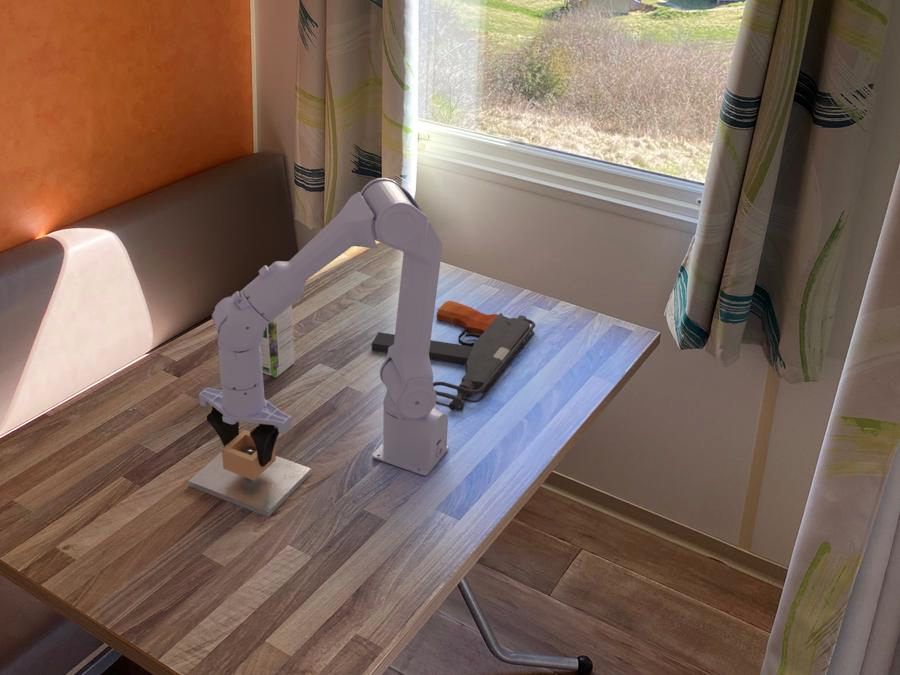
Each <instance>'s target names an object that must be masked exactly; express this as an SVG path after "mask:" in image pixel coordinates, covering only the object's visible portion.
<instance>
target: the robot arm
mask: <svg viewBox="0 0 900 675" xmlns="http://www.w3.org/2000/svg"><path fill="white" fill-rule="evenodd" d="M436 231H437V230H436V229H435V228H434V226H433V224H432V222H431V221H430V219H429V217H428V215H427V214H426V213H425V212H424V211H423V209H422V208H421V207H420V206H419V204H418V203H417V202H416V200H415V199H414V197H413V196H412V194H411V193H410V192H409V190H407V189H406V188H405V187H403V186H402V185H401V184H399V183H398V182H397V181H395V180H393V179H391V178H387V177H377V178H374V179H372V180H370V181H369V182H367V184H365V185H364V187H362V189H361V191H357V192H356V193H354V194H353V195H351V196H350V198H349V199H348V200H347V201H346V204H344V206H343V207H342V208H341V210H340V212H339V213H337V215H336V216H334V218H332V219H331V220H330V221H329V223H327V224H326V225H325V226H324V227H323V228H322V229H321V230H320V231H319V232H318V233H316V235H315V236H314V237H313V238H312V239H311V240H310V241H308V242H307V243H306V244H305V245H304V246H303V247H302V248H301V249H300V250H299V251H297V253H296V254H295V255H294V256H292V258H291V259H290V260H287V261H283V260H282V261H281V260H276V261H274V262H272V264H270V266H267V265H263V266H262V267H261V268H260V269H259V270H258V274H259V275H257V276H256V277H255V278H254V279H253V280H252V281H251V282H250V283H248V284H247V285H246V286H244V287H243V289H241V290H240V291H238V290H237V291H235V292H234V293H233V294H232V295H231V296H226V297H224V298H222V299H221V300H220V301H219V302H218V303H216V305H215V307H214V310H213V313H212V314H211V319H212V320H213V324H214V325H215V329H216V333H217V337H218V341H217V346H218V354H217V355H218V363H219V374H220V384H221V389H217V388H216V389H215V388H211V387H208V386H207V387H206V388H204V389H203V390H202V391H201V392H199V393H198V399H199V405H200V406H203V407H207V406H211V411H210V413H208V414H207V415H206V422H207V423H209V425H210V426H211V427H212V428H213V429H214V431H215V432H216V434H217V435H218V437H219V439H220V441H221V443H222V445H223V448H224V447H225V446H226V445H227V444H228V443H230V442H231V441H232V440H233V439H234V438H235V437H236V436H238V435H239V434H240V429H239V428H240V423H247V424H248V423H249V424H258V425H257V426H256V427H255V428H254V429H253V430H252V431H250V436H251V437H252V439H253V441H254V443H255V446H256V449H257V456H258V460H259V464H260V466H262V467H264V466H265V465H266V464H267V463H268V462H270V461H271V458H272V453H273V449H274V445H275V446H276V441H277V439H278V437H279V435H280V434H283V435H284V434H286V433H287V432H288V431H289V430H290V429H291V428H292V427H293V422H292V415H289V414H287V413H285V412H283V411H282V410H280V409H279V408H278V407H276V406H275V405H274V404H273V403H271V402H270V401H269V400H267V399H266V398H265V386H264V373H263V371H262V357H261V349H260V346H259V343H260V342H261V340H262V338H263V334H264V329H265V328H266V327H267V326H268V324H269V323H270V322H271V321H273V320H274V319H275V318H276V317H277V316H279V315H280V314H281V313H282V312H283V311H284V310H286V309H287V308H288V307H289V306H290V305H292V306H293V304H294V303H295V302H296V301H297V300H299V299H300V298H301V297H302V296H304V294H305V288H306V287H305V286H306V282H307V281H308V280H309V279H311V278H312V277H313V276H314V275H316V274H317V273H318V272H320V271H322V270H323V269H324V268H326V266H328V265H329V264H330V263H332V262H333V261H335V260H336V259H337V258H339V257H340V256H342V255H343V254H344V253H345V252H346V251H348V250H349V249H350V248H352V247H359V248H367V249H378V248H379V247H378V245H377V243H376V240H379V242H381V243H382V244H383V245H384V246H386V247H388V248H392V249H395V250H398V251H400V252H402V253H403V255H402V262H401V263H402V264H401V273H400V281H399V282H400V283H399V291H398V304H397V311H396V323H395V331H394V335H395V339H394V345H392V346H390V347H389V348H388V352H387V355H386V358H385V359H384V361H383V362H382V364H381V366H380V368H379V369H380V370H379V378H380V380H381V382H382V384H384V386H385V387H386V393H385V396H384V399H383V417H382V418H383V423H382V424H383V430H382V431H383V437H382V438H383V442H382V443H381V444H380V445H379V447H378V448H376V450H375V451H374V452H373V453H372V458H373V459H375V460H377V461H381V462H384V463H386V464H389V465H392V466H396V467H398V468H400V469H401V468H402V469H405V470H407V471H409V472H413V473H416V474H418V475H421V476H428V475H429V474H430V472H431V471H433V469H434V467H435V466H436V465H437V464H438V462H440V460H441V459H442V458H443V457H444V455H445V454H446V453H447V451H448V450H449V449H450V448H449V445H448V428H449V427H448V425H449V421H448V420H449V419H448V415H447V414H446V413H445V412H442V411H440V410H439V409H437V408H436V407H435V406H436V405H437V404H436V401H437V398H438V397H437V396H438V395H436V392H435V388H434V387H433V383H434V372H433V367H432V363H431V359H430V358H429V349H430V341H431V340H432V333H433V323H434V317H435V316H434V315H435V306H436V300H437V293H438V284H439V278H440V277H439V275H440V269H441V268H440V267H441V260H442V252H443V243H442V239H440V237H439V234H438V233H437V232H436Z"/></svg>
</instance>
